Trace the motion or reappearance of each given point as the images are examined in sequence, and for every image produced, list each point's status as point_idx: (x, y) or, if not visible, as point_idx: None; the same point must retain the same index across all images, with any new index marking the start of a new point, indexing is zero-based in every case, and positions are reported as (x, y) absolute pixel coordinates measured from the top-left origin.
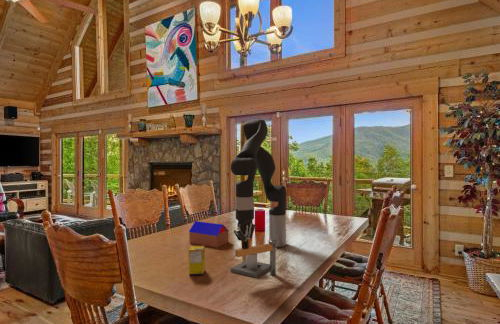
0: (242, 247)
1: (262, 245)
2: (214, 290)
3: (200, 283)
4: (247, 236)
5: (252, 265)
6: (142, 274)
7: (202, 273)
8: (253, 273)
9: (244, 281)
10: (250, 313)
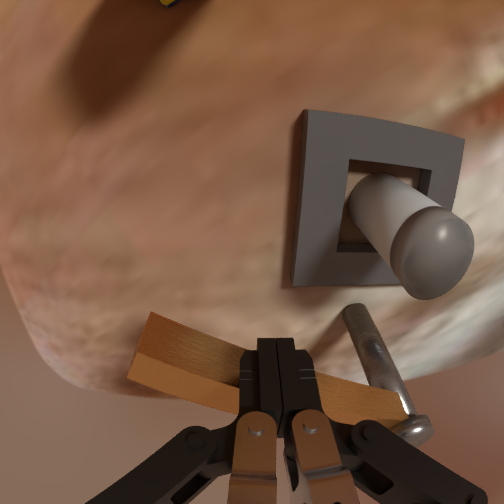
0: (240, 367)
1: (355, 424)
2: (63, 194)
3: (77, 81)
4: (288, 478)
5: (366, 237)
6: None
7: (162, 3)
8: (295, 269)
9: (221, 249)
10: (63, 361)
